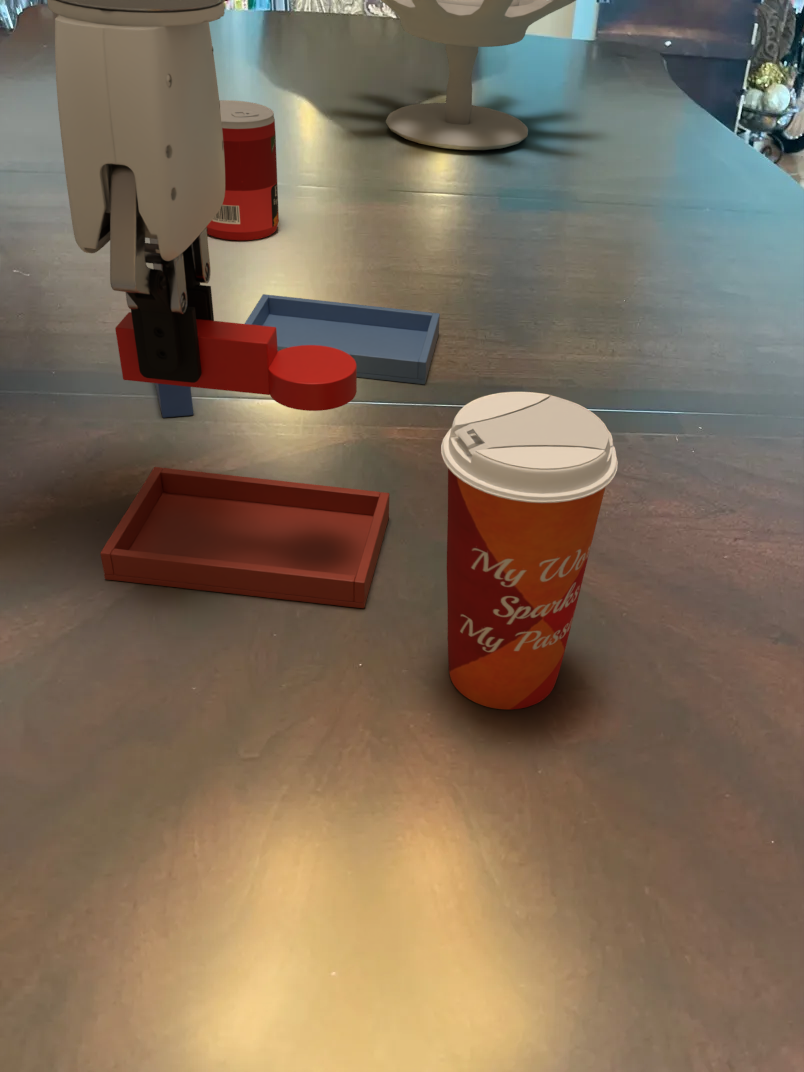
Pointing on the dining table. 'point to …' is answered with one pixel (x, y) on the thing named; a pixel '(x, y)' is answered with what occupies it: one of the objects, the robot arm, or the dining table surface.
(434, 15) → the beige pedestal fruit bowl
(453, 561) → the coffee cup
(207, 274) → the robot arm
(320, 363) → the red spoon
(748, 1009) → the dining table surface
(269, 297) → the blue tray
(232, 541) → the red tray
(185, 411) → the blue spoon
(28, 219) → the dining table surface
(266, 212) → the canned food
